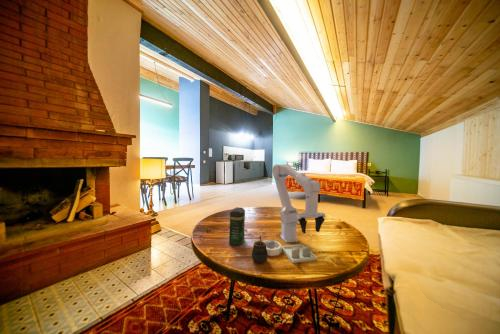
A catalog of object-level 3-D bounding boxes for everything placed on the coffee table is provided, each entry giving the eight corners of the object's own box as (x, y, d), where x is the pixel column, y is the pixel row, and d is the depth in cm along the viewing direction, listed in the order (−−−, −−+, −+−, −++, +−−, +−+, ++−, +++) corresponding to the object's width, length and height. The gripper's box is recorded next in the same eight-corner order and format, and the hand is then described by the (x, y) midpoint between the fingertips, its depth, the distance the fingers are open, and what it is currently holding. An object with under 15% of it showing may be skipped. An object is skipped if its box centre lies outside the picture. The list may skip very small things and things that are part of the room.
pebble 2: (300, 254, 89) (301, 246, 89) (307, 253, 90) (307, 245, 90) (304, 258, 86) (305, 249, 86) (311, 257, 87) (312, 249, 86)
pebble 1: (290, 255, 88) (290, 247, 88) (297, 254, 89) (297, 246, 89) (293, 259, 84) (293, 251, 84) (300, 258, 85) (301, 250, 85)
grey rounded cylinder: (266, 247, 95) (266, 240, 95) (272, 247, 96) (272, 239, 96) (268, 251, 91) (268, 243, 91) (275, 250, 92) (275, 242, 92)
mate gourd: (252, 265, 80) (252, 242, 80) (250, 256, 88) (250, 235, 88) (269, 264, 81) (269, 242, 81) (265, 256, 89) (266, 235, 88)
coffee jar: (241, 246, 97) (242, 211, 96) (227, 245, 99) (227, 210, 98) (246, 238, 107) (246, 206, 106) (232, 237, 108) (233, 205, 108)
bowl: (258, 246, 97) (258, 241, 97) (276, 244, 100) (276, 239, 100) (264, 256, 88) (264, 250, 88) (284, 254, 90) (284, 248, 90)
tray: (280, 249, 95) (281, 246, 95) (302, 247, 98) (302, 244, 98) (292, 263, 82) (292, 260, 82) (316, 260, 85) (316, 256, 85)
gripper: (302, 208, 87) (301, 236, 87) (329, 206, 90) (328, 234, 91) (295, 204, 93) (294, 230, 94) (320, 203, 97) (319, 228, 98)
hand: (310, 232), depth 93 cm, fingers open, 7 cm apart
